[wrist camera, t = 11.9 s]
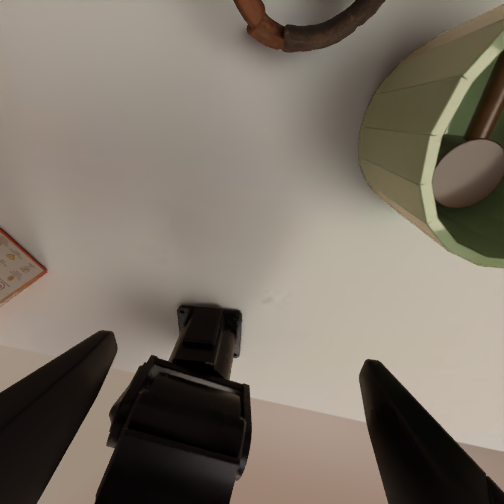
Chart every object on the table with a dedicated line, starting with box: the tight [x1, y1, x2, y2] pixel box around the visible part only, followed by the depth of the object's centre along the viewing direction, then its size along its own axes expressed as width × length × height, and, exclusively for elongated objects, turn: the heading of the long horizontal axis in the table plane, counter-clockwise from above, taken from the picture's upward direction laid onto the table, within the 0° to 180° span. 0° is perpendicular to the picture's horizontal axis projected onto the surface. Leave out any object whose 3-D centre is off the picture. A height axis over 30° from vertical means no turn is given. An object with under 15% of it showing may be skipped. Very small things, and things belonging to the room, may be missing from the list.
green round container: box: [358, 4, 504, 268], centre depth 13 cm, size 10×10×8 cm
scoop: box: [432, 50, 504, 208], centre depth 14 cm, size 8×4×3 cm, turn 176°
